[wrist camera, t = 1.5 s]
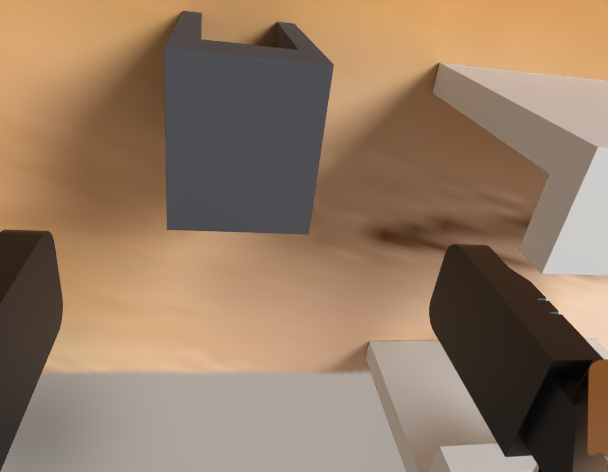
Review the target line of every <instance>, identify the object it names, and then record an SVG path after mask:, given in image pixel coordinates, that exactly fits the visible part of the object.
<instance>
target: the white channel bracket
mask: <svg viewBox="0 0 608 472" xmlns="http://www.w3.org/2000/svg"><path fill="white" fill-rule="evenodd" d="M432 93H433V94H435V95H436V96H438V97H439V98H441V99H442V100H443V101H445V102H446V103H448V104H449V105H451V106H452V107H453V108H455V109H456V110H458V111H459V112H461V113H462V114H464V115H465V116H466V117H468V118H469V119H471V120H472V121H474V122H475V123H477V124H478V125H479V126H481V127H482V128H484V129H485V130H487V131H488V132H490V133H491V134H492V135H494V136H495V137H497V138H498V139H500V140H501V141H503V142H504V143H505V144H507V145H508V146H510V147H511V148H513V149H514V150H516V151H517V152H518V153H520V154H521V155H523V156H524V157H526V158H527V159H528V160H530V161H531V162H533V163H534V164H536V165H537V166H539V167H540V168H541V169H543V170H544V171H546V172H547V173H549V176H548V179H547V181H546V184H545V186H544V189H543V191H542V194H541V196H540V199H539V201H538V204H537V206H536V209H535V211H534V214H533V216H532V219H531V221H530V224H529V226H528V228H527V231H526V233H525V236H524V238H523V241H522V243H521V246H520V248H519V251H520V252H521V253H522V254H523V255H524V256H525V257H526V258H527V259H528V260H529V261H530V262H531V263H532V264H533V265H534V266H535V267H536V268H537V269H538V270H539V271H540V272H541V273H542V274H578V275H608V81H607V80H598V79H588V78H579V77H570V76H560V75H551V74H542V73H532V72H523V71H514V70H504V69H495V68H486V67H476V66H467V65H458V64H448V63H440V64H439V67H438V71H437V75H436V79H435V83H434V87H433V91H432ZM585 340H586V341H587V342H588V343H589V344H590V345H591V346H592V347H593V348H594V349H595V350H596V351H597V352H598V353H599V354H600V356H601V357H602V358H603V359H608V351H607V350H606V349H605V348H604V347H603V346H602V344H601V343H600V342H599V341H598V340H597V339H585ZM365 358H366V360H367V363H368V366H369V369H370V372H371V374H372V377H373V380H374V383H375V385H376V388H377V391H378V394H379V396H380V400H381V402H382V405H383V408H384V411H385V413H386V416H387V419H388V422H389V425H390V427H391V430H392V433H393V436H394V439H395V442H396V444H397V447H398V450H399V453H400V455H401V458H402V461H403V464H404V467H405V470H406V472H532V471H533V470H534V468H535V466H536V464H537V463H536V461H535V460H534V458H533V456H516V457H505V456H504V454H503V452H502V451H501V449H500V447H499V445H498V444H497V442H496V440H495V438H494V436H493V435H492V433H491V431H490V429H489V428H488V426H487V424H486V422H485V421H484V419H483V417H482V415H481V414H480V412H479V410H478V408H477V407H476V405H475V403H474V401H473V400H472V398H471V396H470V394H469V393H468V391H467V389H466V387H465V386H464V384H463V382H462V380H461V378H460V377H459V375H458V373H457V371H456V370H455V368H454V366H453V364H452V363H451V361H450V359H449V357H448V356H447V354H446V352H445V350H444V349H443V347H442V345H441V343H440V342H439V341H370V342H369V346H368V350H367V354H366V357H365Z"/></svg>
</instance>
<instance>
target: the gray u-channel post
mask: <svg viewBox="0 0 608 472" xmlns="http://www.w3.org/2000/svg"><path fill="white" fill-rule="evenodd" d="M201 17H202V13H197V12H188V11H183V12H182V14H181V16H180V18H179V20H178V22H177V24H176V25H175V27H174V29H173V31H172V33H171V35H170V37H169V39H168V41H167V43H166V45H165V47H164V75H165V136H166V196H167V230H193V231H223V232H254V233H284V234H309V227H310V221H311V214H312V207H313V200H314V194H315V187H316V180H317V174H318V167H319V160H320V153H321V147H322V140H323V133H324V127H325V120H326V113H327V106H328V100H329V93H330V86H331V79H332V73H333V66H334V64H333V63H332V62H331V61H330V60H329V59H328V58H327V57H326V56H325V55H324V54H323V53H322V52H321V51H320V50H319V49H318V48H317V47H316V46H315V45H314V44H313V43H312V42H311V41H310V40H309V38H308V37H307V36H306V35H305V34H304V33H303V32H302V31H301V30H300V29H299V28H298V27H297V26H296V25H295V24H291V23H283V22H277V31H276V42H275V47H267V46H257V45H248V44H238V43H229V42H220V41H210V40H201Z"/></svg>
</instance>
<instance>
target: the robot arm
mask: <svg viewBox="0 0 608 472" xmlns="http://www.w3.org/2000/svg"><path fill="white" fill-rule="evenodd" d="M62 312H63V300H62V292H61V285H60V278H59V272H58V265H57V258H56V251H55V244H54V240H53V236H52V234H51V233H50V232H49V231H31V230H3V231H1V232H0V471H1V468H2V466H3V464H4V461H5V459H6V457H7V454H8V452H9V449H10V447H11V444H12V442H13V440H14V438H15V435H16V433H17V430H18V428H19V426H20V423H21V421H22V418H23V416H24V414H25V411H26V409H27V406H28V404H29V402H30V399H31V397H32V394H33V392H34V390H35V387H36V385H37V382H38V380H39V377H40V375H41V373H42V370H43V368H44V366H45V363H46V361H47V358H48V356H49V354H50V351H51V349H52V346H53V344H54V342H55V339H56V337H57V334H58V332H59V329H60V325H61V320H62ZM429 316H430V323H431V326H432V329H433V331H434V333H435V335H436V336H437V338H438V340H439V342H440V343H441V345H442V347H443V349H444V350H445V352H446V354H447V356H448V357H449V359H450V361H451V363H452V364H453V366H454V368H455V370H456V371H457V373H458V375H459V377H460V378H461V380H462V382H463V384H464V386H465V387H466V389H467V391H468V393H469V394H470V396H471V398H472V400H473V401H474V403H475V405H476V407H477V408H478V410H479V412H480V414H481V415H482V417H483V419H484V421H485V422H486V424H487V426H488V428H489V429H490V431H491V433H492V435H493V436H494V438H495V440H496V442H497V444H498V445H499V447H500V449H501V451H502V452H503V454H504V456H505V457H516V456H533V458H534V460H535V461H536V463H537V464H536V466H535V468H534V470H533V471H532V472H608V359H603V358H602V357H601V356H600V354H599V353H598V352H597V351H596V350H595V349H594V348H593V347H592V346H591V345H590V344H589V343H588V342H587V341H586V340H585V339H584V338H583V336H582V335H581V334H580V333H579V332H578V331H577V330H576V329H575V328H574V327H573V326H572V325H571V324H570V323H569V322H568V321H567V320H566V319H565V317H564V316H563V315H562V314H558V310H557V309H556V308H555V307H554V306H553V305H552V304H551V303H550V302H549V301H546V297H545V296H544V295H543V294H542V293H541V292H540V291H539V290H538V289H537V288H536V287H535V286H534V285H533V284H532V283H531V282H530V281H529V280H527V279H526V278H524V277H522V276H521V275H519V274H518V273H516V272H515V271H513V270H512V269H510V268H509V267H508V266H507V265H506V264H505V263H504V262H503V261H502V260H501V259H500V258H499V257H498V255H497V254H496V253H495V252H494V251H493V250H492V249H491V248H490V247H489V246H486V245H463V244H453V245H451V246H450V247H449V248H448V249H447V251H446V253H445V256H444V259H443V262H442V266H441V269H440V272H439V275H438V278H437V282H436V285H435V288H434V291H433V295H432V298H431V301H430V307H429Z"/></svg>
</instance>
